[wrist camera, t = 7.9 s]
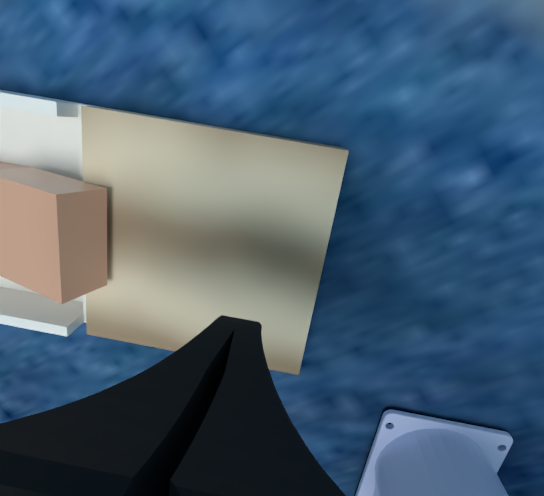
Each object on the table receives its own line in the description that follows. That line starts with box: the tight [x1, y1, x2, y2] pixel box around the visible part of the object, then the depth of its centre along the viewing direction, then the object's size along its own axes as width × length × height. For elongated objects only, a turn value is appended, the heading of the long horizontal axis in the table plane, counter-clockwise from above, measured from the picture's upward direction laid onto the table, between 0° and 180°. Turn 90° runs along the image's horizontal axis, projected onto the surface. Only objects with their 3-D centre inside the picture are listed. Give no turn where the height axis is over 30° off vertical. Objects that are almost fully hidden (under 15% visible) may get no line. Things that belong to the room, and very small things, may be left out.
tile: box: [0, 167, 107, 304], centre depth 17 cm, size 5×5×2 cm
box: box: [0, 90, 107, 336], centre depth 19 cm, size 12×9×3 cm
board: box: [81, 105, 349, 375], centre depth 19 cm, size 12×12×2 cm
